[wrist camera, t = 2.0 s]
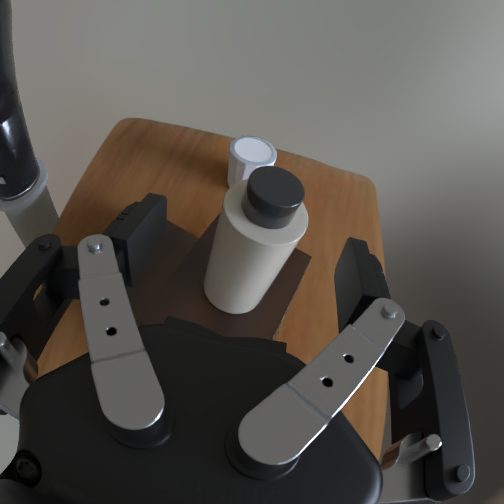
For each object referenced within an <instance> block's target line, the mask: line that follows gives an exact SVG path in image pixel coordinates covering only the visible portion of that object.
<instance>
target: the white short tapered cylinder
mask: <svg viewBox="0 0 504 504" xmlns="http://www.w3.org/2000/svg"><path fill="white" fill-rule="evenodd" d="M276 157H277V152H276V150H275V148H274V146H272V145H271V144H270V143H269V142H267V141H266V140H263V139H261V138H258V137H254V136H243V137H239V138H236V139H235V140H234V141H232V142H231V145H230V151H229V165H228V179H227V182H228V185H229V187H231V186H232V185H234V184H235V183H237V182H239V181H242V180H245V179H249V176H250V174H251V172H252V171H253V170H255V169H256V168H258V167H261V166H273V164H274V162H275V160H276Z"/></svg>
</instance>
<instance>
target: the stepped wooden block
mask: <svg viewBox="0 0 504 504" xmlns="http://www.w3.org/2000/svg"><path fill="white" fill-rule="evenodd" d="M219 216H220V214H219V215H218V216H217V217H216V219H215V220H214V221H213V222H212V224H211V225H210V226H209V227H208V229H207V230H206V231H205V232H204V234H203V235H202V236H201V237H200V239H199V238H197V237H196V236H194V235H192V234H190V233H189V232H187V231H185V230H183V229H181V228H180V227H178V226H176V225H174V224H173V223H171V222H169V221H167V220H166V232H165V235H164V238H163V240H162V242H161V243H160V245H159V246H158V248H157V249H156V251H155V252H154V254H153V255H152V257H151V259H150V260H149V262H148V263H147V265H146V266H145V268H144V270H143V271H142V273H141V274H140V276H139V278H138V279H137V281H136V283H135V284H134V286H133V288H130V287H127V286H125V288H126V292H127V295H128V299H129V302H130V305H131V309H132V312H133V315H134V318H135V321H136V324H137V327H140V326H144V325H149V324H164V322H165V320H166V317H167V316H171V317H175V318H179V319H182V320H186V321H190V322H194V323H197V324H199V325H201V326H203V327H205V328H207V329H209V330H211V331H213V332H215V333H217V334H220V335H222V336H225V337H259V338H263V339H268V340H273V338H274V336H275V334H276V332H277V330H278V328H279V326H280V324H281V322H282V320H283V317H284V315H285V313H286V311H287V309H288V307H289V305H290V303H291V301H292V299H293V297H294V294H295V292H296V290H297V288H298V286H299V284H300V282H301V279H302V277H303V275H304V273H305V271H306V269H307V266H308V264H309V262H310V260H311V256H309V255H308V254H306V253H304V252H302V251H300V250H299V249H297V248H295V249H294V250H293V252H292V253H291V255H290V257H289V258H288V260H287V261H286V263H285V264H284V266H283V267H282V269H281V270H280V272H279V274H278V275H277V277H276V278H275V280H274V281H273V283H272V284H271V286H270V287H269V289H268V290H267V292H266V293H265V295H264V296H263V298H262V299H261V301H260V302H259V304H258V305H257V306H256V307H255V308H254V309H252V310H250V311H248V312H246V313H241V314H232V313H227V312H224V311H222V310H220V309H218V308H217V307H215V306H214V305H213V304H212V303H211V302H210V301H209V299H208V298H207V296H206V294H205V291H204V284H203V283H204V277H205V272H206V268H207V264H208V260H209V256H210V252H211V248H212V244H213V239H214V235H215V232H216V228H217V224H218V220H219ZM79 300H80V299H79Z"/></svg>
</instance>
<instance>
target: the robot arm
mask: <svg viewBox="0 0 504 504" xmlns="http://www.w3.org/2000/svg"><path fill="white" fill-rule="evenodd" d="M39 176H40V168H39V165H38V163H37V161H36V158H35V154H34V151H33V147H32V144H31V140H30V137H29V133H28V130H27V126H26V122H25V118H24V114H23V110H22V105H21V101H20V96H19V91H18V87H17V81H16V75H15V64H14V55H13V44H12V9H11V2H10V0H0V199H1V200H3V201H12V200H15V199H18V198H20V197H22V196H24V195H25V194H26V193H28V192H29V191H30V190H31V189H32V188H33V187H34V186H35V184H36V183H37V181H38V179H39ZM166 211H167V199H166V196H163V195H157V194H152V193H149V194H148V195H147V196H146V197H145V198H144V199H143V200H142V201H141V202H135V203H133V204H131V205H129V206H127V207H126V208H125V209H124V210H123V211H122V212H121V214H119V215H118V216H117V218H116V219H115V220H114V221H113V222H112V223H111V224H110V225H109V226H108V227H107V228H106V229H105V230H104V232H103V233H102V234H96V235H90V236H88V237H86V238H84V239H83V240H81V241H80V242H79V244H78V246H62V245H61V241H60V238H59V237H58V236H57V235H54V234H46V235H42V236H40V237H38V238H36V239H35V240H34V241H33V242H32V243H31V244H30V245H29V246H28V247H27V248H26V249H25V250H24V252H23V253H22V254H21V255H20V256H19V257H18V259H17V260H16V261H15V262H14V263H13V264H12V265H11V266H10V268H9V269H8V270H7V271H6V272H5V274H4V275H3V276H2V277H1V279H0V415H6V414H9V415H11V416H13V417H14V418H16V419H18V420H19V422H20V423H19V424H20V430H19V442H18V448H17V452H16V454H15V457H14V458H13V460H12V461H11V463H10V464H9V465H8V466H7V468H6V469H5V470H4V471H3V472H2V473H1V474H0V504H436V503H439V502H442V501H445V500H448V499H451V498H454V497H456V496H459V495H461V494H464V493H465V492H467V491H468V490H469V489H470V488H471V486H472V484H473V481H474V478H475V467H474V454H473V445H472V437H471V429H470V422H469V416H468V410H467V405H466V399H465V394H464V389H463V384H462V380H461V375H460V371H459V367H458V363H457V359H456V355H455V351H454V348H453V344H452V340H451V337H450V334H449V332H448V331H447V329H446V328H445V327H444V326H443V325H442V324H440V323H439V322H437V321H433V320H428V321H426V322H425V323H424V324H423V325H422V327H419V326H417V325H415V324H413V323H411V322H409V321H407V320H405V315H404V312H403V310H402V308H401V307H400V306H399V305H398V304H397V303H395V302H394V301H392V300H391V298H390V294H389V290H388V287H387V283H386V280H385V276H384V273H383V270H382V266H381V263H380V262H379V260H378V259H377V258H376V257H375V255H373V254H370V253H369V250H368V246H367V243H366V241H363V240H359V239H355V238H351V237H349V238H348V239H347V241H346V244H345V246H344V249H343V251H342V253H341V256H340V258H339V261H338V263H337V265H336V269H335V274H334V282H335V292H336V303H337V314H338V327H339V335H338V336H337V337H336V338H335V339H334V340H333V341H332V342H331V343H330V344H329V345H328V346H327V347H325V348H324V349H323V350H322V351H321V352H320V353H319V354H318V355H317V356H316V357H315V358H314V359H313V360H312V361H311V362H310V363H309V364H308V365H306V364H305V363H303V362H302V361H301V360H299V359H298V358H297V357H295V356H293V355H291V354H289V353H287V352H286V345H287V343H284V342H278V341H273V340H268V339H263V338H259V337H225V336H222V335H220V334H217V333H215V332H213V331H211V330H209V329H207V328H205V327H203V326H201V325H199V324H197V323H194V322H190V321H186V320H182V319H179V318H175V317H171V316H167V317H166V320H165V322H164V324H149V325H144V326H140V327H137V324H136V321H135V318H134V315H133V312H132V309H131V305H130V302H129V299H128V295H127V292H126V288H125V286H127V287H130V288H133V286H134V284H135V283H136V281H137V279H138V278H139V276H140V274H141V273H142V271H143V270H144V268H145V266H146V265H147V263H148V262H149V260H150V259H151V257H152V255H153V254H154V252H155V251H156V249H157V248H158V246H159V245H160V243H161V242H162V240H163V238H164V235H165V232H166ZM41 284H42V286H43V288H42V289H41V291H40V292H39V294H38V295H37V297H36V298H35V299H34V301H33V298H34V294H35V292H36V290H37V289H38V287H39V286H40V285H41ZM72 299H80V301H81V308H82V315H83V321H84V327H85V333H86V339H87V344H88V349H89V352H88V353H86V354H84V355H82V356H80V357H78V358H76V359H74V360H72V361H70V362H69V363H67V364H65V365H63V366H61V367H59V368H57V369H55V370H53V371H51V372H49V373H47V374H45V375H43V376H41V377H39V378H38V379H37V376H38V365H37V363H36V362H37V360H38V359H39V357H40V355H41V353H42V351H43V349H44V347H45V345H46V344H47V342H48V340H49V338H50V336H51V335H52V333H53V331H54V329H55V328H56V326H57V324H58V323H59V321H60V319H61V317H62V316H63V314H64V312H65V311H66V309H67V308H68V306H69V304H70V303H71V301H72ZM374 366H376V367H378V368H381V369H383V370H385V371H387V372H388V376H389V389H390V406H391V434H392V445H391V446H390V447H388V448H387V449H386V451H385V452H384V454H383V458H382V463H381V465H379V462H378V460H377V459H376V457H375V456H374V455H373V453H372V452H371V451H370V449H369V448H368V447H367V445H366V444H365V443H364V441H363V440H362V439H361V437H360V436H359V435H358V433H357V432H356V430H355V429H354V428H353V426H352V425H351V424H350V422H349V421H348V420H347V418H346V417H345V416H344V414H343V413H342V411H341V410H340V409H341V408H342V406H343V405H344V404H345V403H346V402H347V400H348V399H349V398H350V397H351V396H352V394H353V393H354V392H355V391H356V389H357V388H358V387H359V386H360V384H361V383H362V382H363V381H364V379H365V378H366V377H367V375H368V374H369V373H370V371H371V370H372V369H373V367H374ZM421 375H423V383H422V377H421Z"/></svg>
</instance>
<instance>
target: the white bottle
mask: <svg viewBox="0 0 504 504" xmlns="http://www.w3.org/2000/svg"><path fill="white" fill-rule="evenodd" d="M304 197H305V190H304V187H303V185H302V183H301V181H300V180H299V179H298V178H297V177H296V176H295V175H294V174H292V173H291V172H289V171H287V170H285V169H283V168H280V167H276V166H261V167H258V168H256V169H255V170H253V171H252V172H251V174H250V176H249V179H245V180H242V181H239V182H237V183H235V184H234V185H232V186H231V187H230V188H229V189H228V191H227V192H226V194H225V197H224V200H223V204H222V208H221V212H220V216H219V220H218V224H217V228H216V232H215V235H214V239H213V244H212V248H211V252H210V256H209V260H208V264H207V268H206V272H205V277H204V283H203V284H204V291H205V294H206V296H207V298H208V299H209V301H210V302H211V303H212V304H213V305H214V306H215V307H217V308H218V309H220V310H222V311H224V312H227V313H232V314H241V313H246V312H248V311H250V310H252V309H254V308H255V307H256V306H257V305H258V304H259V302H260V301H261V299H262V298H263V296H264V295H265V293H266V292H267V290H268V289H269V287H270V286H271V284H272V283H273V281H274V280H275V278H276V277H277V275H278V274H279V272H280V270H281V269H282V267H283V266H284V264H285V263H286V261H287V260H288V258H289V257H290V255H291V253H292V252H293V250H294V249H295V247H296V246H297V244H298V242H299V241H300V239H301V238H302V236H303V235H304V233H305V231H306V229H307V226H308V214H307V211H306V208H305V206H304V204H303V203H302V201H303V199H304Z"/></svg>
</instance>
